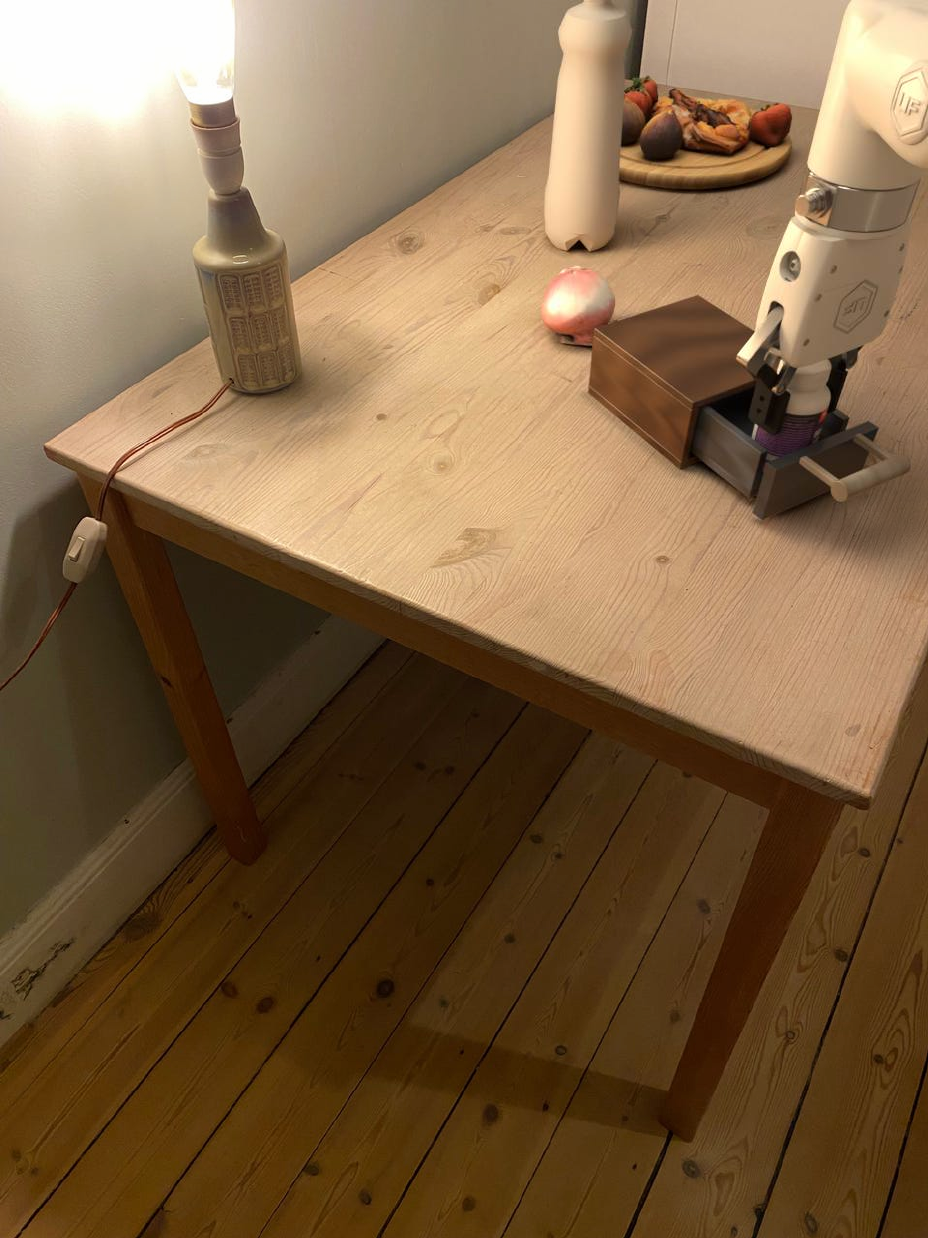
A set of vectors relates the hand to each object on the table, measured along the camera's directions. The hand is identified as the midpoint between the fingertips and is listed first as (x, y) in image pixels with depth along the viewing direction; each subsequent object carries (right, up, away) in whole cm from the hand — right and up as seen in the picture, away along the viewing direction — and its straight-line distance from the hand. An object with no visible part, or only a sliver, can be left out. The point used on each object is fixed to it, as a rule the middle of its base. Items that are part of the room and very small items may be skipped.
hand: (791, 413), depth 77 cm
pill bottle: (0, -3, +4) cm, 5 cm away
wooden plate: (+4, +52, +58) cm, 79 cm away
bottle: (-13, +31, +39) cm, 51 cm away
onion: (-15, +14, +23) cm, 30 cm away
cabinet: (-6, +3, +13) cm, 14 cm away
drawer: (0, -4, +4) cm, 6 cm away
